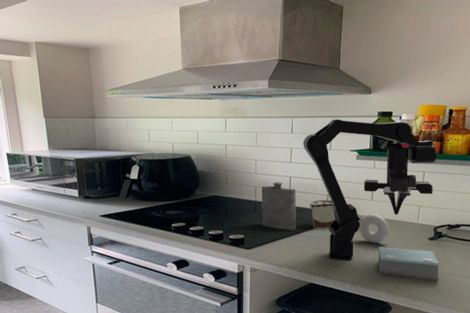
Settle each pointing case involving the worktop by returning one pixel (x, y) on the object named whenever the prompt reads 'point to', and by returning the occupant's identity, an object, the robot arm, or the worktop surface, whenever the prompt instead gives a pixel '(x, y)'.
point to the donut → (379, 222)
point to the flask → (279, 207)
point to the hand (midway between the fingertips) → (396, 214)
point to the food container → (322, 213)
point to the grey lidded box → (408, 269)
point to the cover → (408, 256)
